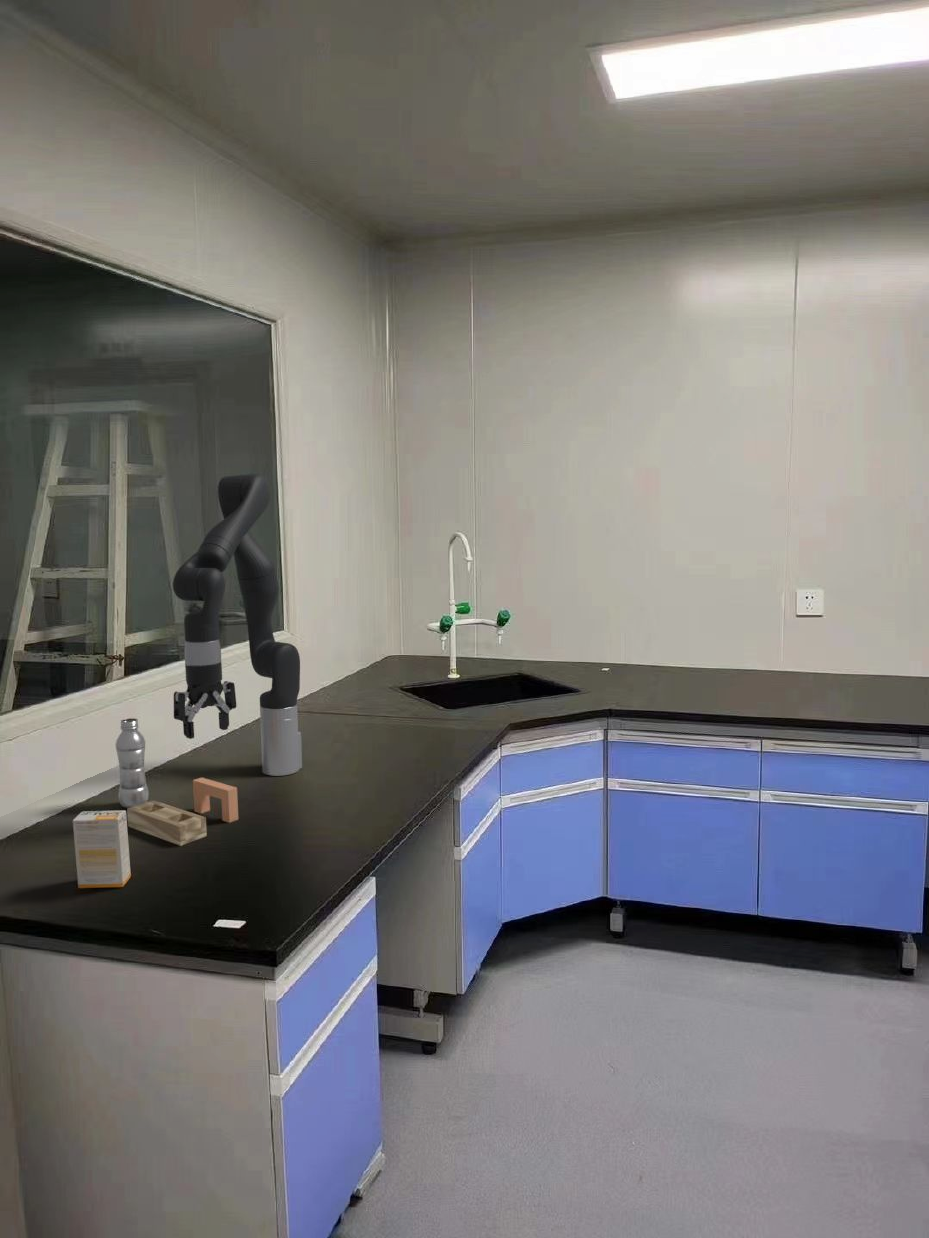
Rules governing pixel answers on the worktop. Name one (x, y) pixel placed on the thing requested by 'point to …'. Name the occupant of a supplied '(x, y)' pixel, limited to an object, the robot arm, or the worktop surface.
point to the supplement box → (101, 849)
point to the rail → (167, 822)
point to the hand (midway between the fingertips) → (207, 733)
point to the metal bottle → (131, 764)
